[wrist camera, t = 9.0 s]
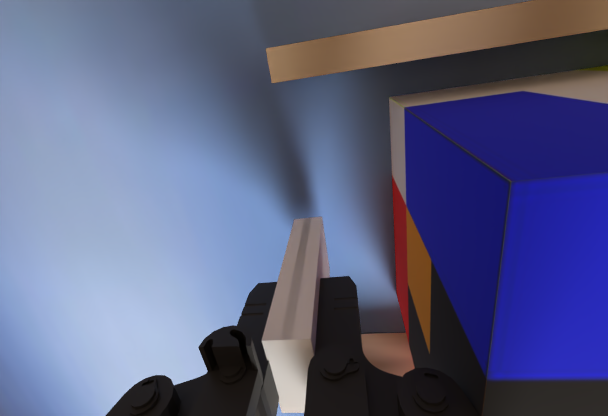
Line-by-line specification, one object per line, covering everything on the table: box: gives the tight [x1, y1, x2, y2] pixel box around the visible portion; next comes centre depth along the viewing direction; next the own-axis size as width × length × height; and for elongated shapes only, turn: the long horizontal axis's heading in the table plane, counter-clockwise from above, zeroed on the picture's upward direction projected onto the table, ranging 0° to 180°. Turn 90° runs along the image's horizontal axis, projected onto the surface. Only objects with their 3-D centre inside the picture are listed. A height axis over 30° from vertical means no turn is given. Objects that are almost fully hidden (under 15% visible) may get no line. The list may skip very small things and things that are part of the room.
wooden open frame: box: [266, 0, 608, 377], centre depth 13 cm, size 16×16×3 cm
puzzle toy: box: [389, 65, 608, 416], centre depth 9 cm, size 10×10×10 cm
